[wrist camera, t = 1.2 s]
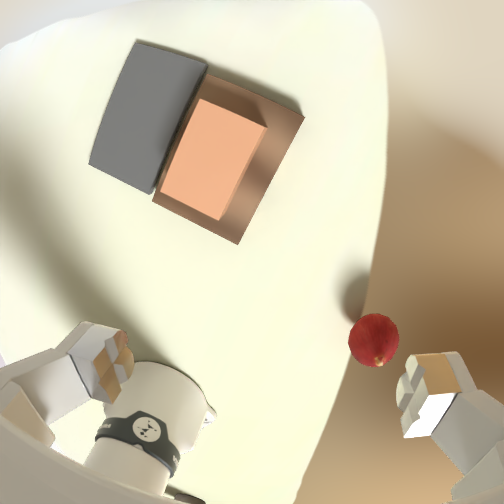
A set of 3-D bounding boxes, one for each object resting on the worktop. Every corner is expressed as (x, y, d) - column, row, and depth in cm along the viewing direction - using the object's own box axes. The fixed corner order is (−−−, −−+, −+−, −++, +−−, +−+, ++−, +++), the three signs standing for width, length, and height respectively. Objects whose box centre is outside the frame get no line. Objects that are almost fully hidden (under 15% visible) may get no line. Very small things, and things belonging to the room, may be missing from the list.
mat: (152, 193, 31) (148, 194, 31) (92, 163, 31) (88, 164, 30) (208, 65, 26) (206, 63, 25) (138, 44, 25) (135, 42, 24)
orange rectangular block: (225, 212, 29) (218, 220, 26) (172, 185, 29) (160, 191, 26) (267, 128, 26) (264, 127, 23) (209, 102, 25) (199, 98, 22)
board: (241, 238, 32) (237, 245, 30) (159, 197, 31) (151, 201, 30) (304, 118, 27) (305, 117, 25) (212, 77, 26) (207, 73, 24)
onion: (398, 320, 33) (417, 362, 26) (362, 347, 35) (373, 392, 28) (372, 291, 32) (390, 333, 25) (335, 321, 34) (342, 367, 27)
